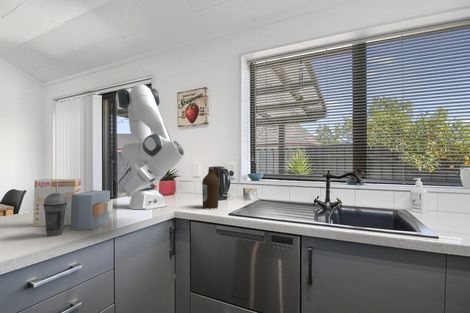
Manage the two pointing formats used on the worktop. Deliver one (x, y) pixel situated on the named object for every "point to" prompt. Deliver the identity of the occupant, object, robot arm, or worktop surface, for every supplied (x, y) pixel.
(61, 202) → the beverage cup
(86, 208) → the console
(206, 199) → the olive oil
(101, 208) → the terracotta button
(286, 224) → the worktop surface
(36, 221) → the coffeecake box
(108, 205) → the cream block
